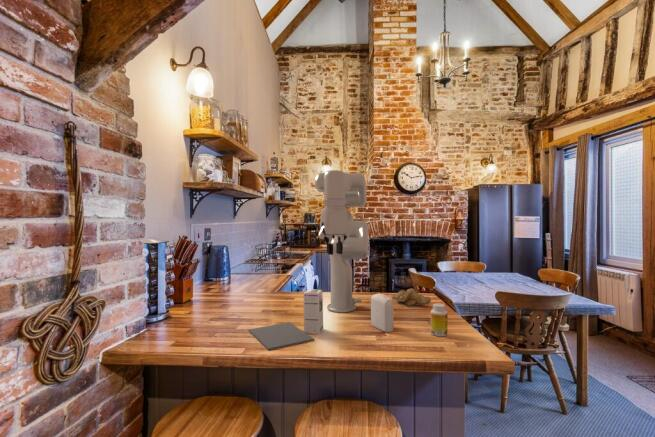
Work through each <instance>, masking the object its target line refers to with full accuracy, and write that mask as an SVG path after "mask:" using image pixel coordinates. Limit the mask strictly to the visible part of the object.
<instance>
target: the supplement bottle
mask: <svg viewBox="0 0 655 437" xmlns="http://www.w3.org/2000/svg"><path fill="white" fill-rule="evenodd" d="M430 333H431V335H433V336H434V337H447V335H448V311H447V310H446V305H445V304H443V303H433V305H432V309H431V310H430Z"/></svg>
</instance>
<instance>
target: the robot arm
mask: <svg viewBox="0 0 655 437" xmlns="http://www.w3.org/2000/svg"><path fill="white" fill-rule="evenodd" d="M314 187H315V189H316V191H317V192H319V193H324V194H323V195H324V200H323V201H324V203H323V204H324V208H323V207H322V209H321V214H320V222H319V232H318V235H317V237H319V239H322V240H323V241H324V243H325V244H326V253H327V255H329V261H330V262H329V263H330V303H329V304H327V306H326V309H327V310H328V311H330V312H333V313H350V312H354V311H355V310H356V309H357V306H356V305H355V304H356V303H357V304H359V303H362V298H360V297H358V298H356V297H353V268H352V266H351V264H350V263H349V262H348V261H347V260H364V259H366V258H367V257H368V256H369V245H370V244H369V242H370V241H369V238H370V237H369V234H370V232H369V225H368V223H367V222H366V221H363V220H354V216H353V214H352V213H351V211H349V210H348V209H347V208H363V207H364V206H365V205H366V204H367V200H368V198H367V196H368V195H367V181H366V178H365V175H364V174H362V173H360V172H355V173H354V172H353V173H352V172H344V171H343V170H337V169H336V170H326V172H319V173H317V175H315V179H314ZM333 236H334V237H333Z"/></svg>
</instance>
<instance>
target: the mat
mask: <svg viewBox="0 0 655 437" xmlns="http://www.w3.org/2000/svg"><path fill="white" fill-rule="evenodd" d="M248 332H249V333H250V335H252V336H253V337H254V338H255V340H257V341H258V342H259V343H260V344H261V345H262V346H263V347H265V349H266V350H267V351H272V350H277V349H282V348H285V347H292V346H295V345H300V344H305V343H309V342H314V341H315V338H314V337H312V336H311V335H310V334H308V333H305V332H304V330H302V329H300V328H299V327H297V326H296V325H295V324H293V323H291V322H289V321H288V322H283V323H278V324H273V325H266V326H261V327H254V328H250V329H248Z"/></svg>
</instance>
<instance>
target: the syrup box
mask: <svg viewBox="0 0 655 437" xmlns="http://www.w3.org/2000/svg"><path fill="white" fill-rule="evenodd" d="M323 299H324V298H323V289H318V288H317V289H315V288H314V289H313V288H311V289H307V290H306V291H304V293H303V332H305V333H306V334H308V335H320V334H321V333H322V331H323V330H324V314H323V313H324V310H323V307H324V304H323V303H324V301H323Z"/></svg>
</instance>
